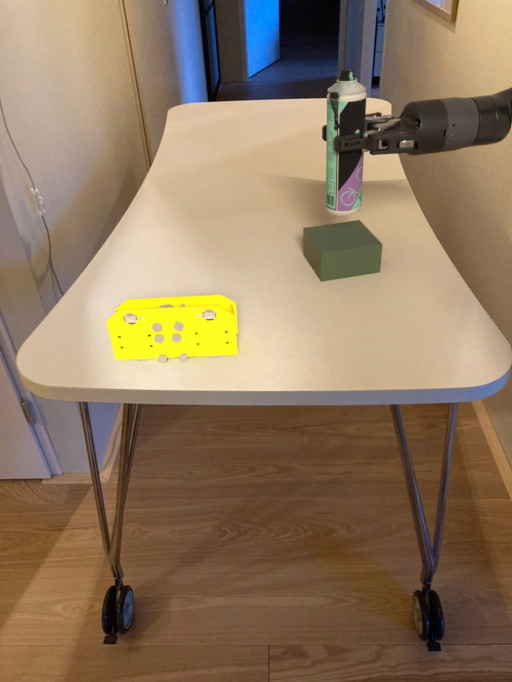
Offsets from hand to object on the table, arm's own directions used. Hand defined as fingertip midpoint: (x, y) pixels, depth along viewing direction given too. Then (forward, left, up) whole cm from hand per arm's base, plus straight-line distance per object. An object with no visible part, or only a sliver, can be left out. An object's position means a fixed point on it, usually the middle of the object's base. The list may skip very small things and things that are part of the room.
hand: (329, 138), depth 80 cm
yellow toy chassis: (+8, +31, -21) cm, 38 cm away
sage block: (-2, -2, -21) cm, 21 cm away
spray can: (-2, -2, -11) cm, 11 cm away
